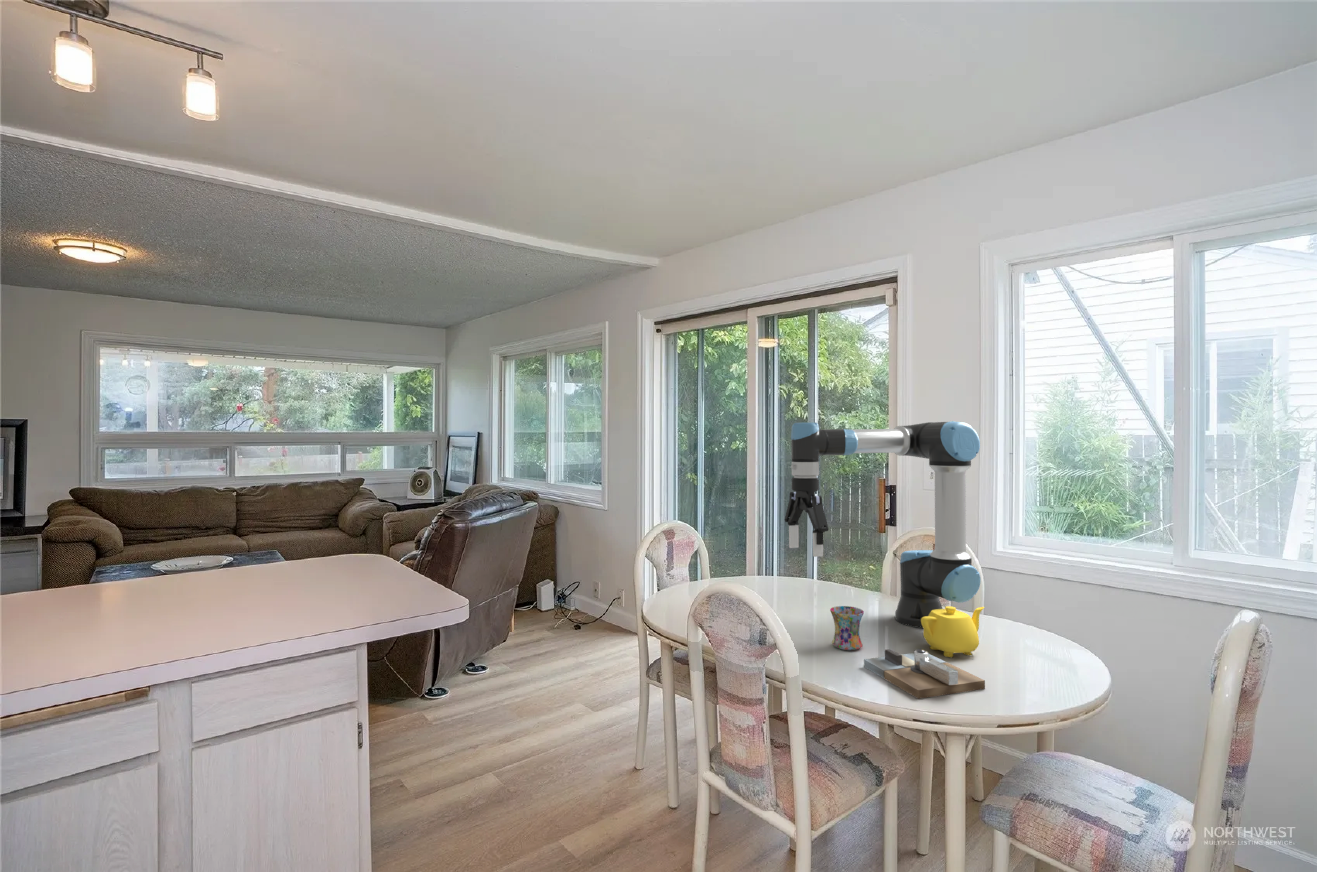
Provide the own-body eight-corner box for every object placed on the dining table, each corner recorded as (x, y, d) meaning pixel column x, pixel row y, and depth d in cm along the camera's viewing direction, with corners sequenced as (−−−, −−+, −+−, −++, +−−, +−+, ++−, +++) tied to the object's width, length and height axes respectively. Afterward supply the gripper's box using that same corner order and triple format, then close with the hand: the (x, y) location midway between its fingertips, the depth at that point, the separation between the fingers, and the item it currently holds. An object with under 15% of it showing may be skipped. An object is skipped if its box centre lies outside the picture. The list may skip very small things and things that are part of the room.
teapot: (1001, 656, 173) (1001, 611, 173) (937, 662, 169) (936, 616, 169) (967, 640, 186) (967, 598, 186) (907, 645, 182) (906, 602, 182)
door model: (924, 658, 171) (924, 642, 171) (984, 688, 151) (984, 670, 151) (864, 666, 166) (863, 649, 166) (918, 698, 146) (918, 679, 146)
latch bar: (911, 666, 159) (911, 648, 159) (922, 664, 160) (922, 647, 160) (947, 685, 147) (947, 666, 147) (959, 683, 148) (959, 665, 148)
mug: (867, 653, 176) (867, 615, 176) (834, 652, 177) (833, 614, 177) (857, 639, 188) (857, 603, 188) (825, 638, 189) (825, 603, 189)
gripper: (773, 474, 189) (773, 545, 189) (816, 480, 165) (816, 561, 165) (795, 473, 191) (796, 543, 192) (841, 479, 167) (841, 559, 168)
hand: (805, 551), depth 178 cm, fingers open, 13 cm apart
